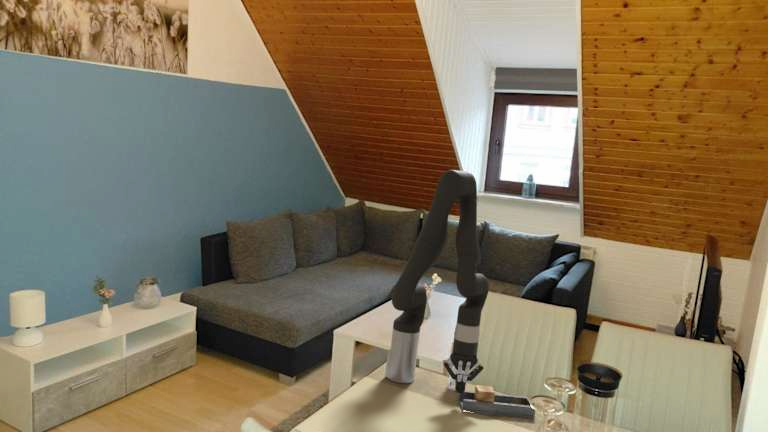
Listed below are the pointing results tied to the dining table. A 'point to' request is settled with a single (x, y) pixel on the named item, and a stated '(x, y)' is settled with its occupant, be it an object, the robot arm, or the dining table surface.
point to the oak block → (484, 393)
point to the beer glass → (451, 381)
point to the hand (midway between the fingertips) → (459, 392)
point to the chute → (498, 405)
